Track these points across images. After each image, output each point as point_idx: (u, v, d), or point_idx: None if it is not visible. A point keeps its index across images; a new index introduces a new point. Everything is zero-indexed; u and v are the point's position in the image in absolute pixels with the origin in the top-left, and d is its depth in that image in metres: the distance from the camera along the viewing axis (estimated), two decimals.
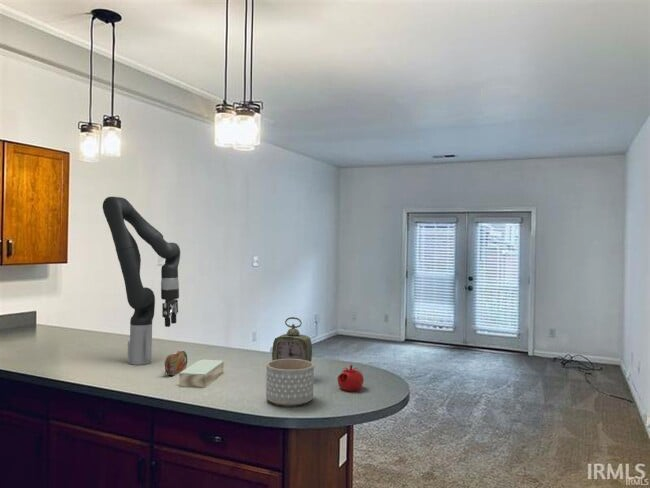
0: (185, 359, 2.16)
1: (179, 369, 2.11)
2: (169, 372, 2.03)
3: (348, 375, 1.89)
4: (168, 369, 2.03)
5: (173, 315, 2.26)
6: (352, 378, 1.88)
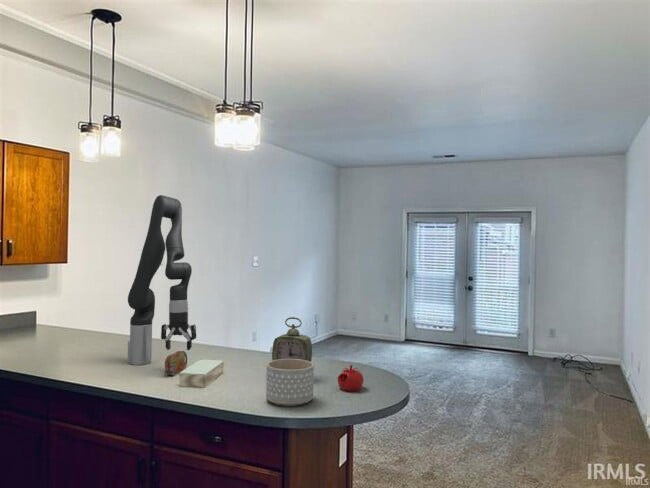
0: (185, 359, 2.16)
1: (179, 369, 2.11)
2: (169, 372, 2.03)
3: (348, 375, 1.89)
4: (168, 369, 2.03)
5: (169, 340, 2.11)
6: (352, 378, 1.88)
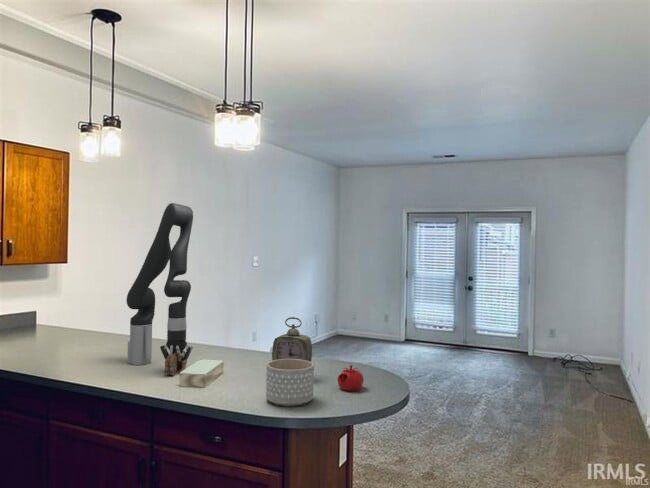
0: None
1: None
2: (169, 372, 2.03)
3: (348, 375, 1.89)
4: (168, 369, 2.03)
5: None
6: (352, 378, 1.88)
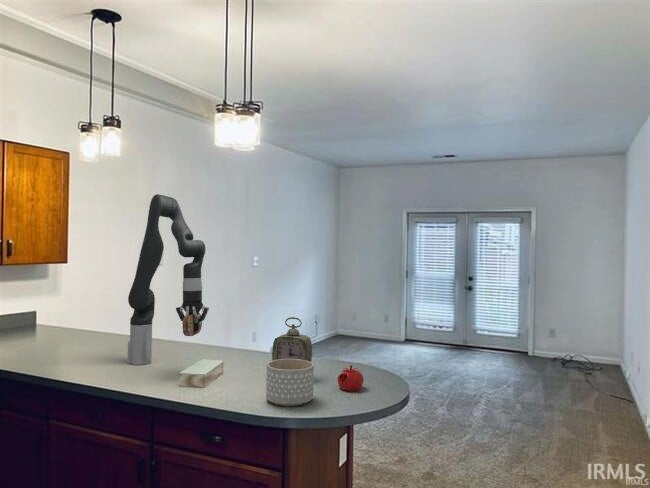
0: None
1: None
2: (187, 332, 1.99)
3: (348, 375, 1.89)
4: (186, 329, 1.98)
5: None
6: (352, 378, 1.88)
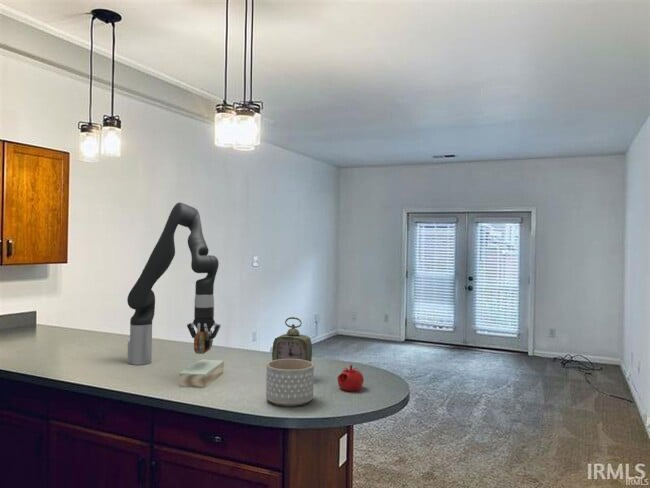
0: None
1: None
2: (198, 350, 1.95)
3: (348, 375, 1.89)
4: (198, 347, 1.94)
5: None
6: (352, 378, 1.88)
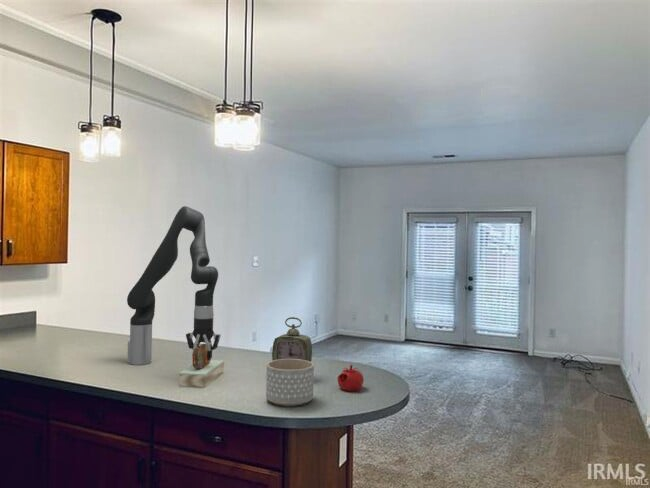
0: None
1: (205, 362, 2.02)
2: (197, 365, 1.95)
3: (348, 375, 1.89)
4: (196, 362, 1.94)
5: None
6: (352, 378, 1.88)
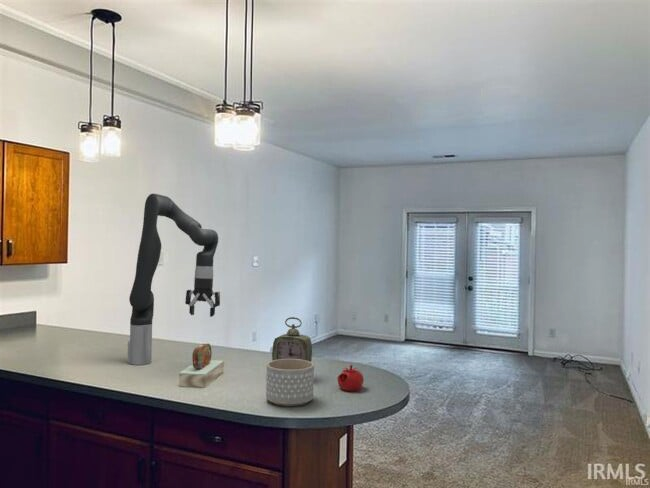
0: (210, 352, 2.08)
1: (205, 362, 2.02)
2: (197, 365, 1.95)
3: (348, 375, 1.89)
4: (196, 362, 1.94)
5: (193, 306, 2.12)
6: (352, 378, 1.88)
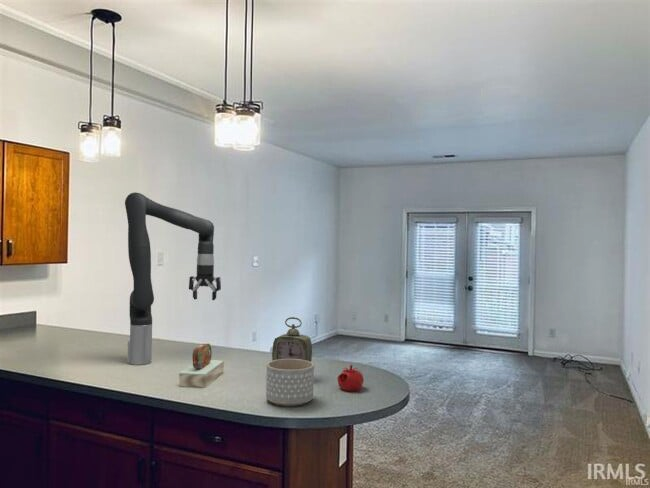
0: (210, 352, 2.08)
1: (205, 362, 2.02)
2: (197, 365, 1.95)
3: (348, 375, 1.89)
4: (196, 362, 1.94)
5: (196, 291, 2.31)
6: (352, 378, 1.88)
